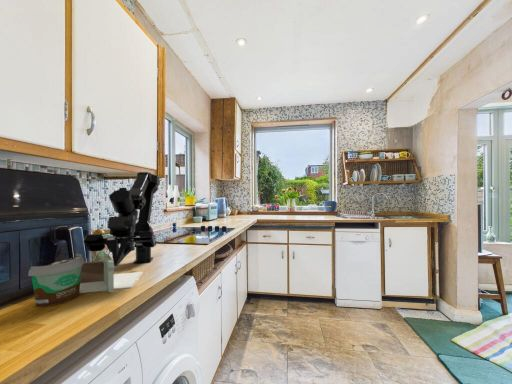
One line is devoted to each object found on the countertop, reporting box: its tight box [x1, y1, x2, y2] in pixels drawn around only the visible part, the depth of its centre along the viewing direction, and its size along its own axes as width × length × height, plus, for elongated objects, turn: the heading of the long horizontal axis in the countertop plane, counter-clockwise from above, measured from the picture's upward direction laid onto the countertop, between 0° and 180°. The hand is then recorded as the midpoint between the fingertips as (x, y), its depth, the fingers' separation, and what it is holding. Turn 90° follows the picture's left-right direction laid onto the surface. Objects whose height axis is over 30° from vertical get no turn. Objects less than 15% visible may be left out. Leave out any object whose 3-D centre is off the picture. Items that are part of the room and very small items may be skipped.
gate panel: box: [102, 253, 115, 293], centre depth 67 cm, size 1×12×8 cm, turn 38°
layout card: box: [79, 271, 144, 294], centre depth 72 cm, size 14×18×1 cm
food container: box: [27, 253, 86, 308], centre depth 60 cm, size 12×6×10 cm, turn 168°
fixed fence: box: [80, 260, 104, 283], centre depth 72 cm, size 1×8×8 cm, turn 104°
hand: (115, 265), depth 66 cm, fingers closed
